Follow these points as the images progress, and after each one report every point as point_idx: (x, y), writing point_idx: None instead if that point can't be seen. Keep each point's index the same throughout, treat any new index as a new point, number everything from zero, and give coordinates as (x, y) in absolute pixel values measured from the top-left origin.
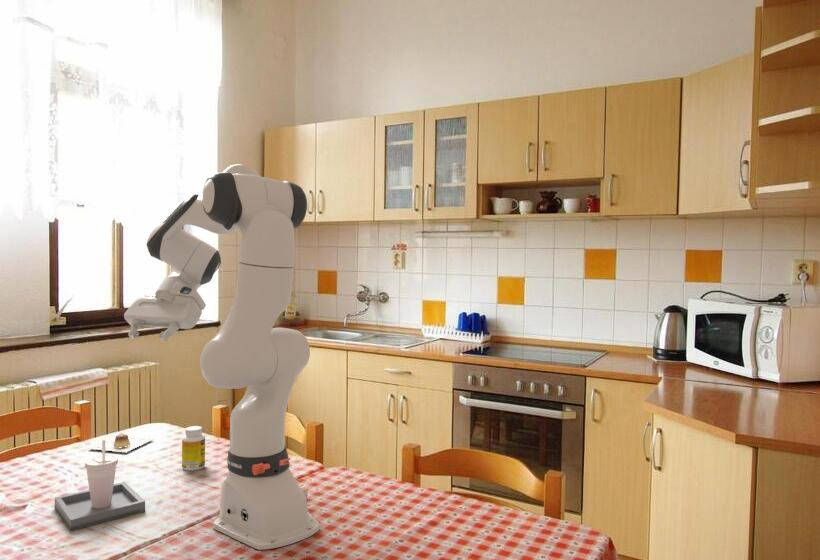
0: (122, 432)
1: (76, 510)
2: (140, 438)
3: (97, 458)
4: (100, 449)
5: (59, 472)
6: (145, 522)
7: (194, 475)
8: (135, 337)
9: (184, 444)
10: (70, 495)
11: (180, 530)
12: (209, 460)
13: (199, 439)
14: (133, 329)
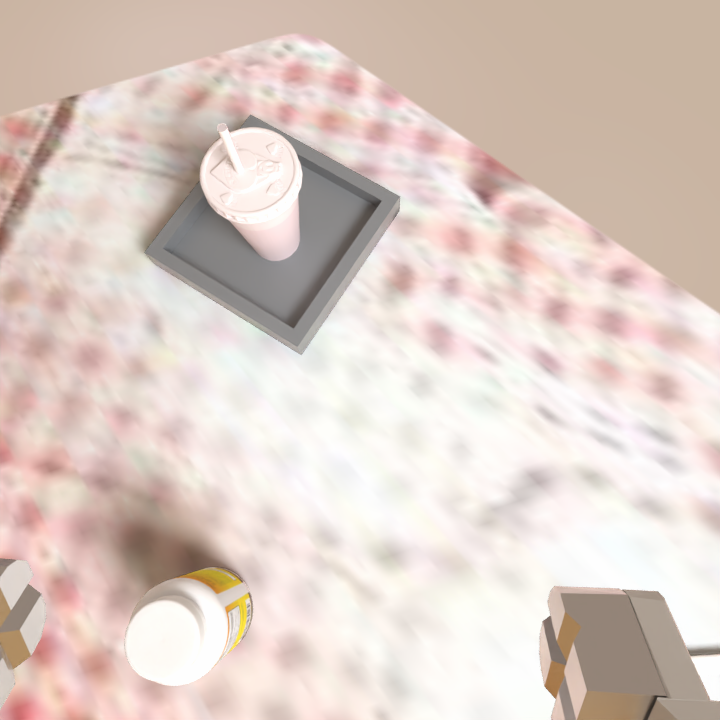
0: None
1: (312, 194)
2: None
3: (268, 171)
4: (696, 660)
5: (627, 417)
6: (116, 216)
7: (169, 540)
8: (543, 644)
9: (199, 577)
10: (370, 220)
11: (10, 208)
12: (199, 705)
13: (134, 609)
14: (644, 688)
